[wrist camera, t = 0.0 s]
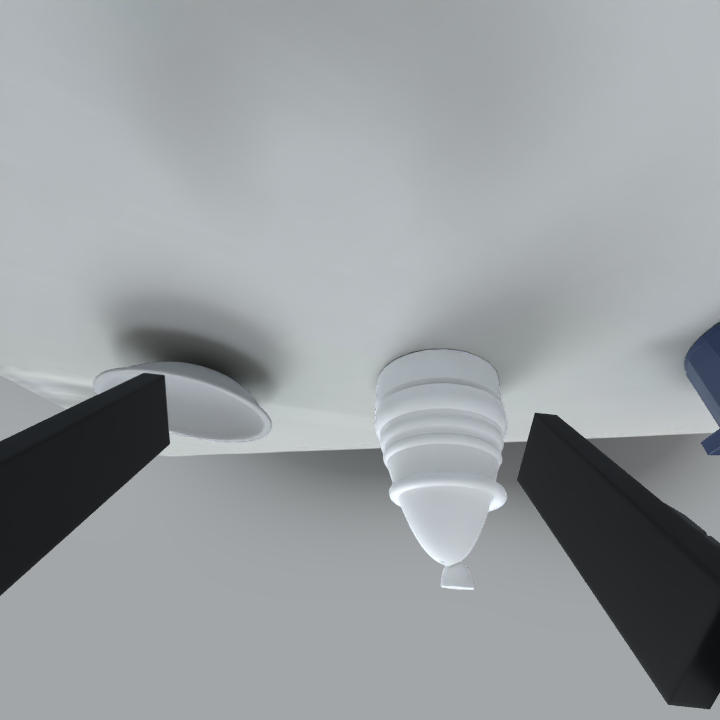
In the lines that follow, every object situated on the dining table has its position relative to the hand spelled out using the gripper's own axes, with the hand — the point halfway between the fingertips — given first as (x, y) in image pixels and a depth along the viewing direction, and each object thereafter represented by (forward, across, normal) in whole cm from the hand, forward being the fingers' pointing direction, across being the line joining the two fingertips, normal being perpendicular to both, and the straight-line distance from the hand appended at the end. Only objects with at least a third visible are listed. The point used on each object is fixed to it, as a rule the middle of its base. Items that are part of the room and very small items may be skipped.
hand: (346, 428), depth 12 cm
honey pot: (+24, +9, -6) cm, 26 cm away
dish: (+25, -17, -8) cm, 31 cm away
